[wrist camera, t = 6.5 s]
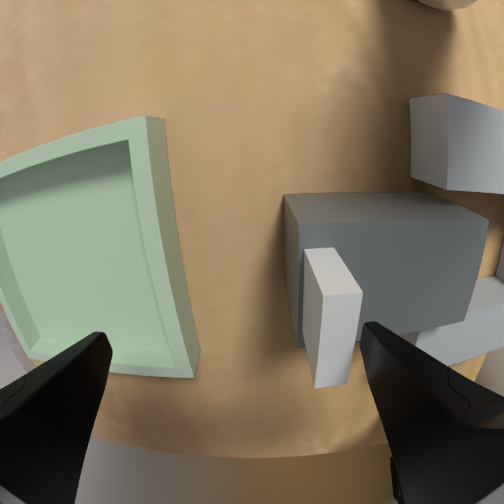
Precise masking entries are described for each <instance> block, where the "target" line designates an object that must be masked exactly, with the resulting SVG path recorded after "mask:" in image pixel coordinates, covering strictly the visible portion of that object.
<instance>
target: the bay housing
mask: <svg viewBox="0 0 504 504" xmlns="http://www.w3.org/2000/svg"><path fill="white" fill-rule="evenodd" d="M409 106H410V128H411V171H410V177H412V178H415V179H418V180H421V181H424V182H426V183H429V184H432V185H435V186H437V187H440V188H443V189H445V190H456V191H472V192H486V193H498V194H504V111H501V110H499V109H496V108H493V107H490V106H487V105H484V104H481V103H478V102H475V101H472V100H468V99H465V98H461V97H458V96H454V95H450V94H446V93H445V94H437V95H430V96H423V97H416V98H410V99H409ZM399 336H400V337H402V338H404V339H405V340H407V341H408V342H410V343H412V344H413V345H415V346H416V347H418V348H420V349H421V350H423V351H424V352H426V353H428V354H429V355H431V356H432V357H434V358H435V359H437V360H439V361H440V362H442V363H443V364H445V365H447V366H450V365H453V364H456V363H459V362H462V361H465V360H468V359H471V358H474V357H477V356H479V355H482V354H485V353H487V352H490V351H493V350H495V349H497V348H500V347H502V346H504V240H503V245H502V250H501V254H500V259H499V263H498V267H497V271H496V274H495V276H490V277H485V278H479V279H477V280H476V284H475V288H474V291H473V294H472V298H471V301H470V304H469V307H468V310H467V313H466V316H465V319H464V321H462V322H458V323H454V324H449V325H445V326H441V327H436V328H431V329H426V330H422V331H416V332H411V333H406V334H400V335H399Z"/></svg>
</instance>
